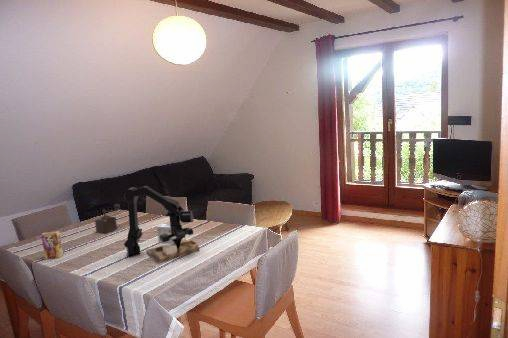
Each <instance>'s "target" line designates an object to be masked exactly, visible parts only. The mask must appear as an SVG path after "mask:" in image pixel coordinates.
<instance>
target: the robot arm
mask: <svg viewBox="0 0 508 338" xmlns="http://www.w3.org/2000/svg"><path fill="white" fill-rule="evenodd" d="M142 195H146V196H147V197H149V198H150V199H152V200H154V201H155V202H157V203H158V204H161V205H162V207H163V208H164V209H165V210H166V211H167V213H166V214H165V217H169V224H170V227H171V231H170V232H171V234H170V235H167V234H163V235H160V237H159V238H160V240H161V241H162V242H167V241H169V240H170V239H171V240H172V241H173V242H174V243H175V245H176V246H177V249H179V247H180V243H181V240H184V238H185V239H186V235H188V236H191V235H194V230H193V229H192V228H191V227H183V226H182V224H181V223H185V224H188V223H194V214H193V211H192V210H184V208H182V206H181V205H180V202H179V201H178V200H175V199H173V198H169V197H167V196H165V195H163V194H161V193H159V192H157V190H155V189H153V188H151V187H150V186H149V185H145V186H140V187H134V186H133V187H130V188H128V189H126V190H125V191H124V200H125V201H126V203H127V205H128V206H127V209H128V223H129V225H128V226H129V228H128V233H127V240H126V241H125V242H124V243H123V245H124V247H125V248H126V256H127V257H129V258H131V257H135V256H139V255H141V248H140V245H139V242H140V239H141V238H142V236H143V229H142V228H140V227H139V220H138V219H139V218H138V205H137V203H138V199H139V196H142Z"/></svg>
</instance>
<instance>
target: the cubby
mask: <svg viewBox="0 0 508 338" xmlns="http://www.w3.org/2000/svg"><path fill="white" fill-rule="evenodd" d="M187 240H188V241H184V242H181V243H180V246H184V245H187V244H193V245H191V246H187V247H184V248H181V249H179V251H180V253H181V252H184V251H188V250H191V249H194V248H198V247H199V244H198V243H197V242H195V241H194V240H193V239H187Z"/></svg>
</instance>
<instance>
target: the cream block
mask: <svg viewBox="0 0 508 338" xmlns="http://www.w3.org/2000/svg"><path fill="white" fill-rule="evenodd" d="M162 245H163V252H164V253H165V254H166V255H170V254H173V253H176V252H177V246H176V245H175V244H173V243H165V244H162Z"/></svg>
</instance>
